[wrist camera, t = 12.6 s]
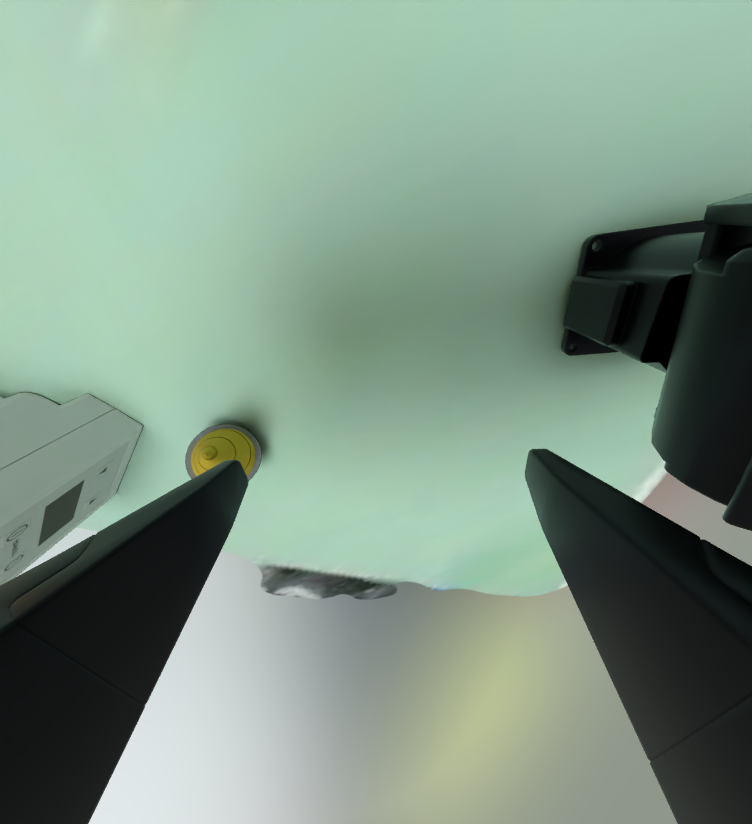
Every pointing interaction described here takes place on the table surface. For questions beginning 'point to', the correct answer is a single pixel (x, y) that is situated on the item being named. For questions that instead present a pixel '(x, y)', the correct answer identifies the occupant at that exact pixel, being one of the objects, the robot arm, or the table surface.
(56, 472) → the grey machine part
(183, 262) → the table surface
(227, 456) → the yellow ridged cone
